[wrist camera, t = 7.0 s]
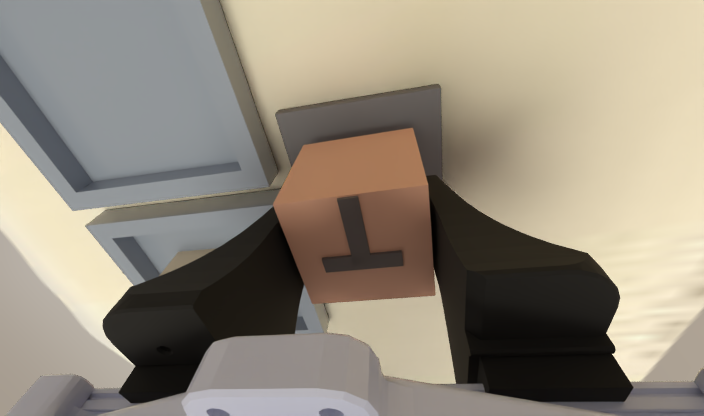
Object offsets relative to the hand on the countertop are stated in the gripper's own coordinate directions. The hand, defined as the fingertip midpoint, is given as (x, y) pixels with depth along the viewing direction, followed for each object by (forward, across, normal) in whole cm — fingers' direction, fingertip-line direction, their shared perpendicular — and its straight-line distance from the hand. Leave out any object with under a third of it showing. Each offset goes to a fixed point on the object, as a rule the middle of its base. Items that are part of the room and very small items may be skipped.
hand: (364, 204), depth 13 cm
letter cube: (+1, 0, 0) cm, 1 cm away
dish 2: (+3, +10, +6) cm, 12 cm away
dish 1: (+3, +10, -6) cm, 12 cm away
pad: (+3, 0, 0) cm, 3 cm away
